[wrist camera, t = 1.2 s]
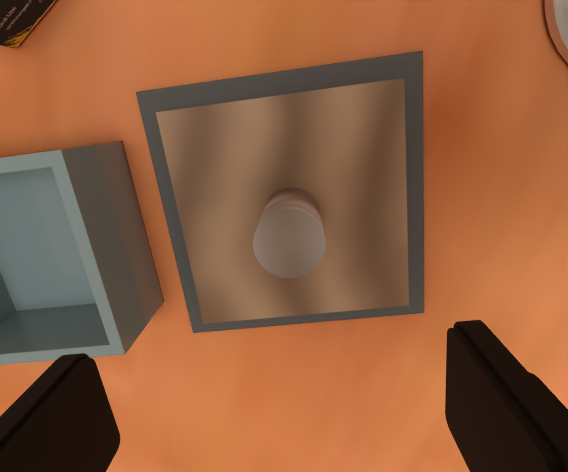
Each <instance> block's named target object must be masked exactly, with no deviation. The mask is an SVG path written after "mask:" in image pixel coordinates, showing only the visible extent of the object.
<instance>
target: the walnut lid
mask: <svg viewBox="0 0 568 472" xmlns="http://www.w3.org/2000/svg"><path fill="white" fill-rule="evenodd" d="M156 116H157V120H158V124H159V129H160V133H161V138H162V142H163V147H164V151H165V155H166V160H167V164H168V169H169V173H170V178H171V182H172V186H173V191H174V195H175V200H176V204H177V209H178V213H179V217H180V222H181V226H182V231H183V235H184V240H185V244H186V248H187V253H188V257H189V262H190V266H191V271H192V275H193V279H194V284H195V288H196V293H197V297H198V301H199V306H200V310H201V315H202V319H203V324H207V323H218V322H229V321H241V320H252V319H263V318H274V317H286V316H297V315H308V314H319V313H330V312H342V311H353V310H364V309H375V308H386V307H398V306H409V283H408V234H407V184H406V134H405V84H404V78H400V79H392V80H385V81H378V82H371V83H364V84H356V85H349V86H342V87H335V88H327V89H320V90H313V91H306V92H299V93H291V94H284V95H277V96H270V97H263V98H255V99H248V100H241V101H234V102H227V103H219V104H212V105H205V106H198V107H191V108H183V109H176V110H169V111H162V112H156Z"/></svg>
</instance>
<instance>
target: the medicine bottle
mask: <svg viewBox="0 0 568 472" xmlns="http://www.w3.org/2000/svg"><path fill="white" fill-rule="evenodd" d="M55 1H56V0H0V45H2V46H6V47H10V48H16V47H18V46H19V44H20V43H21V42H22V41H23V40H24V38H25V37H26V36H27V35H28V34H29V32H30V31H31V30H32V29H33V28H34V26H35V25H36V24H37V23H38V22H39V20H40V19H41V18H42V17H43V16H44V14H45V13H46V12H47V11H48V10H49V8H50V7H51V6H52V5H53V3H54V2H55Z"/></svg>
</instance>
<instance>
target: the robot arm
mask: <svg viewBox="0 0 568 472" xmlns="http://www.w3.org/2000/svg"><path fill="white" fill-rule="evenodd" d="M545 16H546V21H547V25H548V29H549V33H550V36H551V38H552V40H553V42H554V44H555V46H556V48H557V50H558V52H559V53H560V55H561V56H562V57H563V58H564V59H565V61H566V62H567V63H568V0H545ZM445 415H446V420H447V424H448V427H449V429H450V431H451V433H452V436H453V438H454V440H455V442H456V444H457V446H458V448H459V450H460V452H461V454H462V456H463V458H464V460H465V462H466V464H467V466H468V468H469V471H470V472H568V409H567V408H566V407H565V406H564V405H563V404H562V403H561V402H560V401H559V400H558V398H557V397H556V396H555V395H554V394H553V393H552V392H551V391H550V390H549V389H548V388H547V387H546V385H545V384H544V383H543V382H542V381H541V380H540V379H539V378H538V377H537V376H535V375H534V374H532V373H529V372H528V371H527V370H526V369H525V368H524V367H523V366H522V365H521V364H520V363H519V361H518V360H517V359H516V358H515V357H514V356H513V355H512V354H511V353H510V351H509V350H508V349H507V348H506V347H505V346H504V345H503V344H502V343H501V341H500V340H499V339H498V338H497V337H496V336H495V335H494V334H493V333H492V332H491V330H490V329H489V328H488V327H487V326H486V325H485V324H484V323H483V322H482V321H481V320H472V321H460V322H456V323H455V324H454V328H449V329H448V331H447V359H446V404H445ZM119 444H120V434H119V430H118V427H117V425H116V422H115V419H114V416H113V413H112V410H111V407H110V404H109V401H108V398H107V395H106V392H105V389H104V386H103V383H102V380H101V377H100V374H99V371H98V368H97V366H96V363H95V361H94V360H93V359H92V358H90V357H89V356H88V355H87V354H85V353H80V354H68V355H62V356H60V357H59V358H58V359H57V360H56V361H55V362H54V363H53V364H52V365H51V366H50V367H49V368H48V369H47V370H46V371H45V372H44V373H43V374H42V375H41V376H40V377H39V378H38V379H37V380H36V381H35V382H34V383H33V384H32V385H31V386H30V387H29V388H28V389H27V390H26V391H25V392H24V393H23V394H22V395H21V396H20V397H19V398H18V399H17V400H16V401H15V402H14V403H13V404H12V405H11V406H10V407H9V408H8V409H7V410H6V411H5V412H4V413H3V414H2V415H1V416H0V472H106V470H107V469H108V467H109V465H110V463H111V461H112V459H113V457H114V456H115V454H116V452H117V450H118V448H119Z"/></svg>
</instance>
